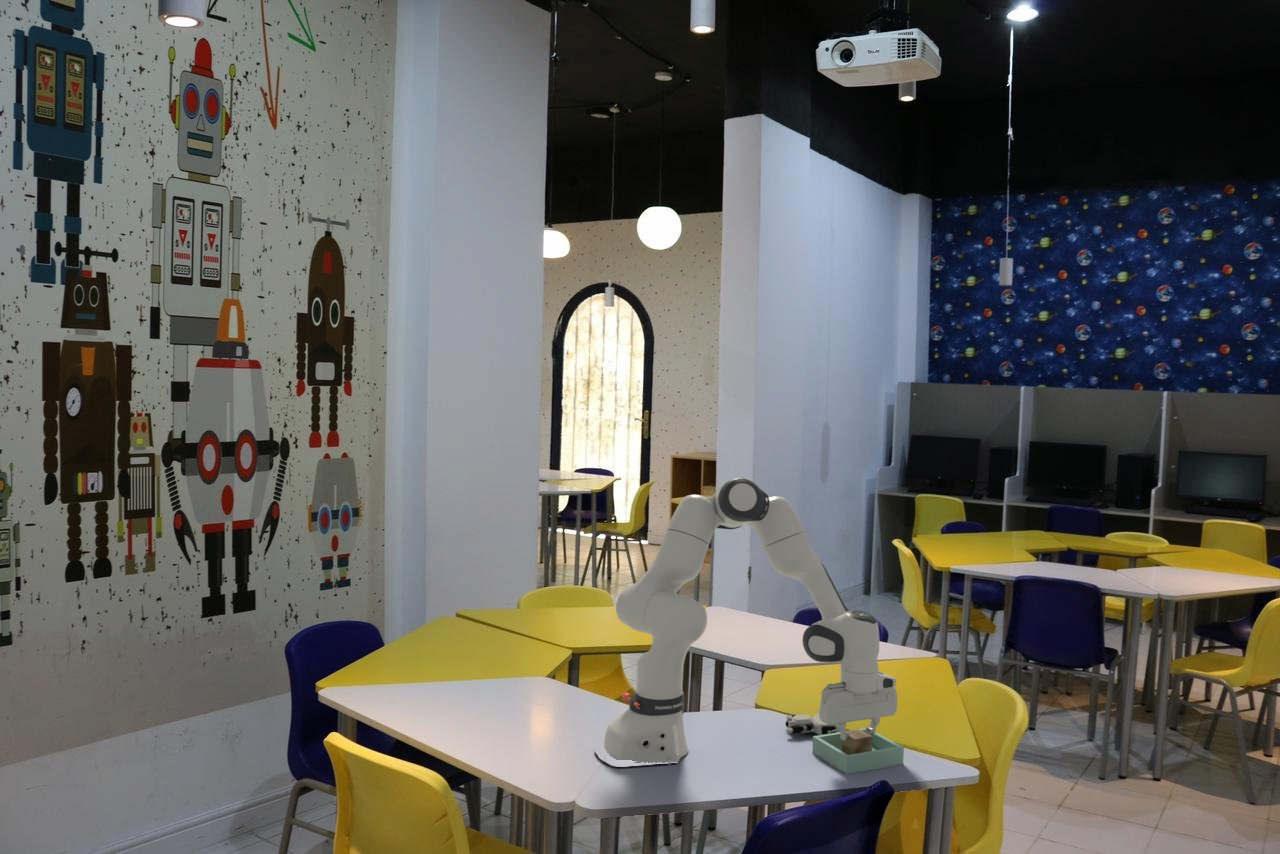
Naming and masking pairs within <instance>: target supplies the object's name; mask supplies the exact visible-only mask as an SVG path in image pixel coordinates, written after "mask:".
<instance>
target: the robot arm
mask: <svg viewBox="0 0 1280 854" xmlns="http://www.w3.org/2000/svg"><path fill="white" fill-rule="evenodd" d="M746 525H748V526H749V527H751V528H752V529H753V530H754V531H755V533H756V534H757V535H758V536H759V539H760V542H761V546H762V547H763V550H764V552H765V555H766V557H767V559H768V561H769V563H770V564H771V566H772V567H773V569H774V570H775V571H776V572H777V573H779V574H781V575H783V576H785V577H789V578H792V579H794V580H797V581H798V582H800V583H802V585H804V586H805V587H806V589H807V591H808V592H809V594H810V595H811V597H812V599H813V601H814V603H815V605H816V607H817V609H818V611H819V613H820V614H821V620H820V619H819V621H816V622H814V623H812V624H811V625H810V626H808V627H807V628H806V629H805V630H804V632H803V634H802V646H803V647H802V648H803V649H804V651H805V652H806V654H807V656H808V657H809V658H810V659H812V660H813V661H815V662H819V663H839V664H840V675H839V676H840V679H839V680H840V682H837V683H828V684H827V685H826V686H824V687H823V689H822V690H821V699H820V704H819V712H818V713H819V717H820V719H821V721H823V722H824V723H826V724H828V725H833V724H836V725H837V727H838V729H839V731H840V738H841V739H842V740H849V738H850V737H849V736H850V733H849V732H847V731H848V730H846V727H847V723H852V722H859V721H865V720H870V723H869V724H868V726H866V727H865V728H866V733H867V734H869V735H871V736H874V735H875V732H876V729H877V727H878V726H879V723H880V722H881V721H880V720H881V718H884V717H891V716H894V715H895V714H896V713H897V711H898V692H897V688H896V686H897V679H896V678H894V677H893V676H891V675H889V674H886V673H884V672H882V671H880V669H879V663H878V657H879V653H880V631H879V630H880V629H879V624H878V621H877V619H876V617H874V616H873V615H872V614H871V613H869V612H866V611H863V610H856V609H853V610H852V609H851V610H849V609H848V608H847V606H846V605H845V604H844V601H843V600H842V599H843V598H841V595H840V593H839V592H838V590H837V588H836V586H835V584H834V582H833V580H832V578H831V576H830V574H829V572H828V571H827V568H826V567H825V566H824V564H823V562H822V561H821V559H820V558H819V557H818V555H817V553H816V552H815V550H814V548H813V546H812V544H811V542H810V540H809V537H808V535H807V532H806V530H805V528H804V526H803V524H802V521H801V519H800V518H799V516H798V514H797V512H796V511H795V509H794V508H793V505H792V504H791V503H790V501H789V500H788V499H786V498H785V497H783V496H779V495H778V496H777V495H774V496H769V495H768V494H767V493H766V492H764V491H763V490H762V489H761V488H760V487H759V486H758V485H757V484H756V483H754V482H753V481H752V480H749V479H748V478H744V477H736V478H732V479H730V480H728V481H727V482H725V483H724V484H723V485H721V486H720V487H719V488H718V489H717V490H716V491H715V492H714V493H713V495H712V496H709V497H708V496H707V497H705V496H704V495H700V494H689V495H688V494H687V495H686V496H685V497H683V498H682V499H681V500H680V502H679V504H678V506H677V507H676V509H675V511H674V512H673V514H672V517H671V518H670V521H669V524H668V526H667V527H666V530H665V534H664V536H663V539H662V541H661V544H660V546H659V550H658V551H657V554H656V556H655V558H654V560H653V562H652V564H651V565H650V566H649V568H648V570H646V572H645V573H644V574H643V575H642V576H641V577H640V578H639V579H638V580H637V581H636V582H635V583H633V584H631V585H630V586H628V587H627V586H626V588H625V589H623V590H622V591H621V592H620V594H619V596H618V598H617V601H616V605H615V613H616V616H617V618H618V620H619V621H620V622H621V623H623V624H624V625H625V626H627V627H628V628H630V629H631V630H634V631H637V632H639V633H644V634H647V635H651V637H652V644H651V647H650V649H649V650H648V651H646V652H645V653H643V654H641V656H639V658H638V660H637V661H636V662H637V663H636V690H635V691H634V694H632V695H631V694H630V693H629V692H623V694H622V696H621V698H622V701H624V702H625V703H627V704H629V707H628V708H627V709H626V710H625V711H624V712H622V714H620V715H619V716H618V717H617V718H615V719H614V720H613V721H612V722H610V723H609V724H608V725H607V727H606V730H605V733H604V734H605V735H604V741H603V743H604V748H605V750H606V751H607V753H609V755H610V756H611V757H613V758H614V759H616V760H632V761H634V762H635V761H637V762H635V763H641V762H644V763H646V762H648V763H650V762H651V763H653V762H655V763H657V762H659V763H660V762H662V763H665V762H668V763H669V762H678V761H679V759H680V757H682V756H683V757H685V756H686V755H687V754H688V753H689V747H688V745H687V740H686V739H687V738H686V736H685V726H684V713H685V692H684V691H683V681H684V664H685V659H686V657H687V656H686V655H687V653H688V652H689V649H690V647H691V646H692V645H693V644H694V643H695V642H696V641H698V640H699V639H701V637H702V636H703V634H704V633H705V631H706V628H707V625H708V615H707V613H708V612H707V610H706V608H705V606H704V605H703V604H702V603H700V602H699V601H697V600H695V599H693V598H692V597H690V596H687V595H684V594H681V593H677V592H678V591H679V590H680V589H681V587H682V586H684V585H685V584H686V583H688V582H690V581H693V580H694V579H696V578H697V577H698V575H699V574H700V572H701V569H702V566H703V564H704V561H705V558H706V554H707V553H708V550H709V547H710V544H711V540H712V537H713V535H714V533H715V531H716V529H723V530H736V529H739V528H741V527H743V526H746ZM844 727H845V728H844ZM684 755H685V756H684ZM683 757H682V758H683ZM680 760H681V759H680ZM679 762H680V761H679Z"/></svg>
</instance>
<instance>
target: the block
mask: <svg viewBox="0 0 1280 854" xmlns="http://www.w3.org/2000/svg"><path fill="white" fill-rule="evenodd" d="M857 729H858V730H856V729H851V730H852V731H850V730H846V731H847V732H849V733H850V736H849V737H850V738H849V740H842V752H844V753H845V754H847V755H851V754H857V753H863V752H869V751H872V736H871V735H869V734H867V733H865V732H864V731H862V730H860V729H861V728H857Z"/></svg>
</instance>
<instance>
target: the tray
mask: <svg viewBox="0 0 1280 854" xmlns="http://www.w3.org/2000/svg"><path fill="white" fill-rule="evenodd" d="M858 729H860V730H862V731H864V732H865V733H866V727H864V728H857V729H855V730H858ZM852 730H853V729H851V730H849V731H852ZM904 748H905V747H903V746H902V745H900V744H898V743H896V742H894V741H892V740H891V739H889V738H887V737H885V736H883V735H881V734H880V733H878V732H876V731H875V735H874V736H872V751H869V752H863V753H857V754H851V755H847V754H845V753H844V752H842V739H841V738H840V732H837V733H831V734H825V735H813V736H812V754H813V755H815V756H817V757H819V758H820V759H822V760H823V759H824V761H825V762H826V763H828V764H830V765H831V766H833V767H834V768H836V769H837V770H839V771H840V772H842V773H844V774H846V775H850V774H855V773H861V772H867V771H873V770H879V769H884V768H889V767H896V766H902V765H904V751H905V749H904Z"/></svg>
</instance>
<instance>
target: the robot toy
mask: <svg viewBox="0 0 1280 854" xmlns="http://www.w3.org/2000/svg"><path fill="white" fill-rule="evenodd" d="M785 727H786V729H785V732H786V733H788V734H793V735H796V734H797V735H803V734H810V733H811V732H812V731H813V732H814V733H816V735H817V736H819V735H825V734H831V733H837V732H840V731H839V729H838V727H837V725H836V724H833V725H828V724H826V723H824V722H823V721H821V719H820V717H819V712H817V713H816V714H814V716H811V715H810V714H795V713H794V714H792V715H791V714H790V715H787V716H786V722H785ZM844 728H845V729H846V727H844Z"/></svg>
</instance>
